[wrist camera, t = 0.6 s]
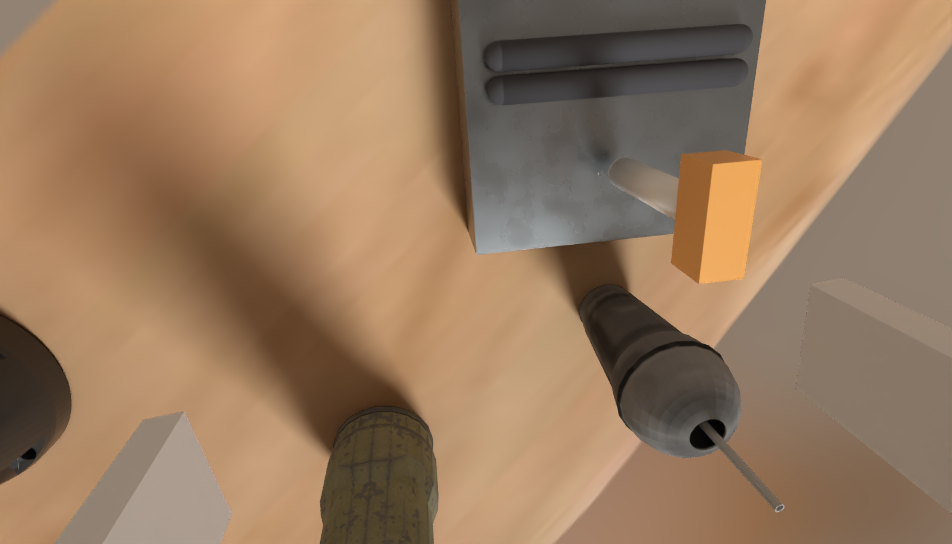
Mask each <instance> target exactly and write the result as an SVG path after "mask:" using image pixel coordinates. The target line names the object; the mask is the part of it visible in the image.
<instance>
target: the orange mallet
mask: <svg viewBox="0 0 952 544" xmlns="http://www.w3.org/2000/svg"><path fill="white" fill-rule="evenodd" d="M761 165H762V159H758V158H754V157H751V156H747V155H743V154H739V153H735V152H731V151H727V150H721V151H710V152H700V153H689V154H681V162H680V173H679V178H677V177H674V176H672V175H669V174H667V173H665V172H662V171H660V170H657V169H655V168H652V167H650V166H647V165H645V164H643V163H640V162H638V161H635V160H633V159H630V158H626V157H623V158H619V159H617V160H615V161H614V162H613V163H612V164H611V165H610V167H609V170H608V177H609V180H610V182H611V183H612V184H613V185H615V186H616V187H618V188H620V189H621V190H623V191H625V192H627V193H628V194H630V195H632V196H634V197H635V198H637V199H639V200H641V201H642V202H644V203H646V204H648V205H649V206H651V207H653V208H655V209H656V210H658V211H660V212H662V213H663V214H665V215H667V216H668V217H670V218H672V219H674V220H675V227H674V238H673V248H672V259H671V263H672V264H673V265H674V266H676V267H677V268H678V269H680V270H681V271H682V272H684V273H685V274H686V275H688V276H689V277H690V278H692V279H693V280H694V281H696V282H697V283H698V284H702V283H711V282H719V281H728V280H736V279H744V274H745V268H746V261H747V255H748V249H749V242H750V236H751V229H752V223H753V217H754V210H755V204H756V197H757V191H758V185H759V178H760V172H761Z"/></svg>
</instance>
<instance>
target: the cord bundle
mask: <svg viewBox="0 0 952 544" xmlns="http://www.w3.org/2000/svg"><path fill="white" fill-rule="evenodd" d="M752 40H753V32H752V30H751V28H750V27H749V26H747V25H745V24H730V25H716V26H701V27H687V28H673V29H658V30H644V31H630V32H615V33H601V34H587V35H572V36H558V37H544V38H529V39H515V40H500V41H495V42H493V43H492V44H491V45H490V46H489V47H488V48H487V50H486V54H485V59H486V63H487V65H488V66H489V67H490V68H491V69H492V70H494V71H496V72H506V71H519V70H533V69H546V68H559V67H572V66H586V65H599V64H612V63H625V62H639V61H652V60H665V59H679V58H692V57H705V56H718V55H732V54H739V53H742V52H744V51H745V50H746V49H747V48H748V47H749V46H750V45H751V43H752ZM747 75H748V65H747V63H746V62H745V61H744V60H742V59H740V58H727V59H714V60H701V61H688V62H675V63H662V64H648V65H635V66H622V67H609V68H596V69H583V70H569V71H556V72H543V73H530V74H517V75H504V76H497V77H495V78H493V79H492V80H491V81H490V83H489V85H488V88H487V94H488V97H489V99H490V100H491V102H493V103H494V104H496V105H501V106H502V105H515V104H527V103H539V102H552V101H564V100H576V99H589V98H601V97H613V96H625V95H638V94H650V93H662V92H675V91H687V90H699V89H711V88H724V87H734V86H737V85H739V84H741V83H742V82H743V81H744V80H745V79H746V77H747Z"/></svg>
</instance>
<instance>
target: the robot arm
mask: <svg viewBox="0 0 952 544" xmlns="http://www.w3.org/2000/svg"><path fill="white" fill-rule="evenodd" d="M796 389H797V390H798V391H799V392H800V393H801V394H803V395H804V396H805V397H806V398H808V399H809V400H810V401H812V402H813V403H814V404H815V405H816V406H818V407H819V408H820V409H822V410H823V411H824V412H825V413H826V414H828V415H829V416H830V417H831V418H833V419H834V420H835V421H836V422H838V423H839V424H840V425H842V426H843V427H844V428H845V429H846V430H848V431H849V432H850V433H851V434H853V435H854V436H855V437H856V438H858V439H859V440H860V441H862V442H863V443H864V444H865V445H866V446H868V447H869V448H870V449H871V450H873V451H874V452H875V453H876V454H878V455H879V456H880V457H881V458H883V459H884V460H885V461H886V462H888V463H889V464H890V465H892V466H893V467H894V468H895V469H897V470H898V471H899V472H900V473H901V474H903V475H904V476H905V477H907V478H908V479H909V480H910V481H912V482H913V483H914V484H915V485H917V486H918V487H919V488H920V489H922V490H923V491H924V492H925V493H926V494H928V495H929V496H930V497H932V498H933V499H934V500H935V501H936V502H938V503H939V504H940V505H941V506H943V507H944V508H945V509H947V510H948V511H949V512H950V513H951V514H952V329H951V328H949V327H947V326H945V325H943V324H941V323H939V322H936V321H934V320H932V319H930V318H928V317H926V316H924V315H921V314H919V313H917V312H915V311H913V310H911V309H909V308H907V307H905V306H902V305H900V304H898V303H896V302H894V301H892V300H889V299H887V298H885V297H883V296H881V295H879V294H877V293H874V292H872V291H870V290H868V289H866V288H864V287H862V286H859V285H857V284H855V283H853V282H851V281H849V280H847V279H845V278H840V279H835V280H830V281H825V282H821V283H815V284H811V285H810V292H809V299H808V305H807V312H806V319H805V326H804V333H803V340H802V347H801V355H800V361H799V369H798V375H797V382H796ZM70 414H71V394H70V389H69V386H68V383H67V380H66V378H65V375H64V373H63V371H62V370H61V368H60V366H59V365H58V363H57V362H56V360H55V359H54V358H53V356H52V355H51V354H50V353H49V351H48V350H47V349H46V348H45V347H44V346H43V345H42V344H41V343H40V342H39V341H37V340H36V339H35V338H34V337H33V336H32V335H30V334H29V333H28V332H26V331H25V330H24V329H22V328H21V327H19V326H18V325H16V324H14V323H13V322H11V321H9V320H7V319H6V318H4V317H2V316H0V485H1V484H3V483H5V482H6V481H8V480H10V479H12V478H14V477H15V476H17V475H19V474H21V473H22V472H24V471H25V470H27V469H28V468H29V467H31V466H32V465H33V464H34V463H36V462H37V461H38V460H39V459H40V458H41V457H42V456H43V455H44V454H45V453H46V452H47V451H48V450H49V449H50V448H51V447H52V445H53V444H54V443H55V442H56V441H57V440H58V439H59V438H60V436H61V435H62V434H63V432H64V430H65V429H66V426H67V424H68V422H69V418H70ZM231 514H232V513H231V511H230V508H229V506H228V504H227V502H226V500H225V498H224V496H223V493H222V491H221V489H220V487H219V485H218V483H217V481H216V478H215V476H214V474H213V472H212V470H211V468H210V466H209V463H208V461H207V459H206V457H205V455H204V453H203V451H202V448H201V446H200V444H199V442H198V440H197V438H196V436H195V434H194V431H193V429H192V427H191V425H190V423H189V421H188V419H187V416H186V414H185V412H180V413H175V414H170V415H165V416H160V417H155V418H150V419H145V420H143V421H142V422H141V424H140V425H139V427H138V428H137V429H136V431H135V432H134V434H133V435H132V436H131V438H130V439H129V440H128V442H127V443H126V445H125V446H124V447H123V449H122V450H121V452H120V453H119V454H118V456H117V457H116V459H115V460H114V461H113V463H112V464H111V465H110V467H109V468H108V470H107V471H106V472H105V474H104V475H103V477H102V478H101V479H100V481H99V482H98V484H97V485H96V486H95V488H94V489H93V490H92V492H91V493H90V495H89V496H88V497H87V499H86V500H85V502H84V503H83V504H82V506H81V507H80V509H79V510H78V511H77V513H76V514H75V515H74V517H73V518H72V520H71V521H70V522H69V524H68V525H67V527H66V528H65V529H64V531H63V532H62V534H61V535H60V536H59V538H58V539H57V540H56V542H55V543H54V544H221V541H222V539H223V536H224V533H225V531H226V528H227V525H228V522H229V520H230V517H231Z"/></svg>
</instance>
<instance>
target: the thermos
mask: <svg viewBox="0 0 952 544" xmlns="http://www.w3.org/2000/svg"><path fill="white" fill-rule="evenodd" d="M333 447H334V450H333V451H332V454H331V457H330V459H329V462H328V466H327V471H326V476H325V480H324V485H323V490H322V495H321V500H320V508H321V518H322V522H323V529H322V534H321V540H320V544H434V539H433V521H434V519H435V516H436V513H437V511H438V482H437V467H436V458H435V456H434V453H433V438H432V435H431V432H430V430H429V427H428V426H427V425H426V424H425V423H424V421H423V420H422V419H421V418H420V417H418V416H417V415H415V414H413V413H412V412H410V411H408V410H405V409H401V408H397V407H393V406H387V407H374V408H370V409H366V410H363V411H360V412H359V413H357V414H355V415H354V416H352V417H350V418H349V419H348V420H347V421H346V422H345V423H344V424H343V425H342V426H341V428H340V429H339V431H338V433H337V436H336V439H335V441H334V446H333Z"/></svg>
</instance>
